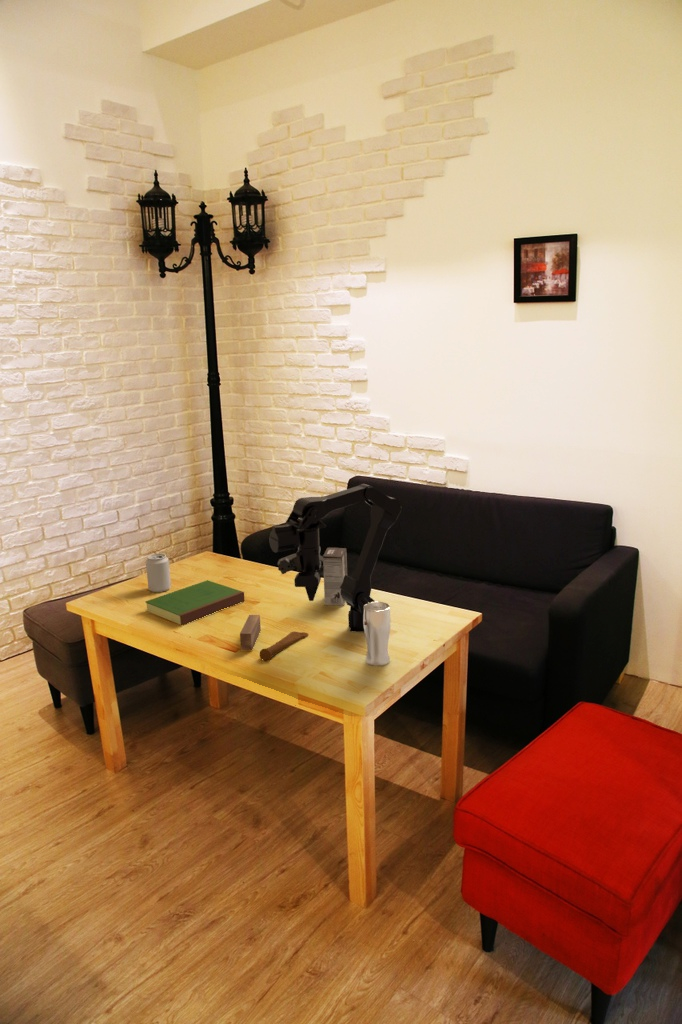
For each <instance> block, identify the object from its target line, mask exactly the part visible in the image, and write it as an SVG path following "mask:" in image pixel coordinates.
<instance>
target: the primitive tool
mask: <svg viewBox="0 0 682 1024" xmlns="http://www.w3.org/2000/svg"><path fill="white" fill-rule="evenodd" d="M308 636H309V633H307V632H301V631H300V632H299V631H290V633H288V634H287V635H286V636H284V637H283V638H282V639H280V640H279V641H276V642H275V643H274V644H272V645H271V646H269V647H267V648H262V649H261V650H260V651H259V658H260V660H262V659H263V660H262V661H265V660H269V661H270V660H271V659H272V657H273V656H275V655H276V654H279V653H280V652H281V650H282V651H283V649H284V650H285V649H287V648H289V647H291V646H293V645H295V644H296V643H298V642H299V641H302V640H303V639H306V638H308Z"/></svg>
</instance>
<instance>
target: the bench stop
mask: <svg viewBox="0 0 682 1024" xmlns="http://www.w3.org/2000/svg"><path fill="white" fill-rule="evenodd" d="M261 629H262V628H261V614H249V615H248V616H247V619H246V621H245V622H244V625H243V627H242V629H241V631H240V632H239V642H240V651H241V650H252V649H253V650H254V648H253V647H255V646H256V643H257V641H258V639H257V638H259V636H260V634H261V632H260V631H262V630H261ZM259 633H260V634H259ZM256 640H257V641H256ZM255 642H256V643H255ZM253 650H252V651H253Z"/></svg>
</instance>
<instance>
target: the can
mask: <svg viewBox="0 0 682 1024" xmlns="http://www.w3.org/2000/svg"><path fill="white" fill-rule="evenodd" d="M146 558H147V559H146V561H145V569H146V579H147V586H148V590H150V591H151V592H152V593H164V592H167V591H169V590H170V588H171V587H172V580H171V571H170V561H169V560H170V559H169V558H168V557H167V555H166V553H153V554H149V555H148V556H147V557H146ZM166 590H167V591H166ZM163 591H164V592H163Z"/></svg>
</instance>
